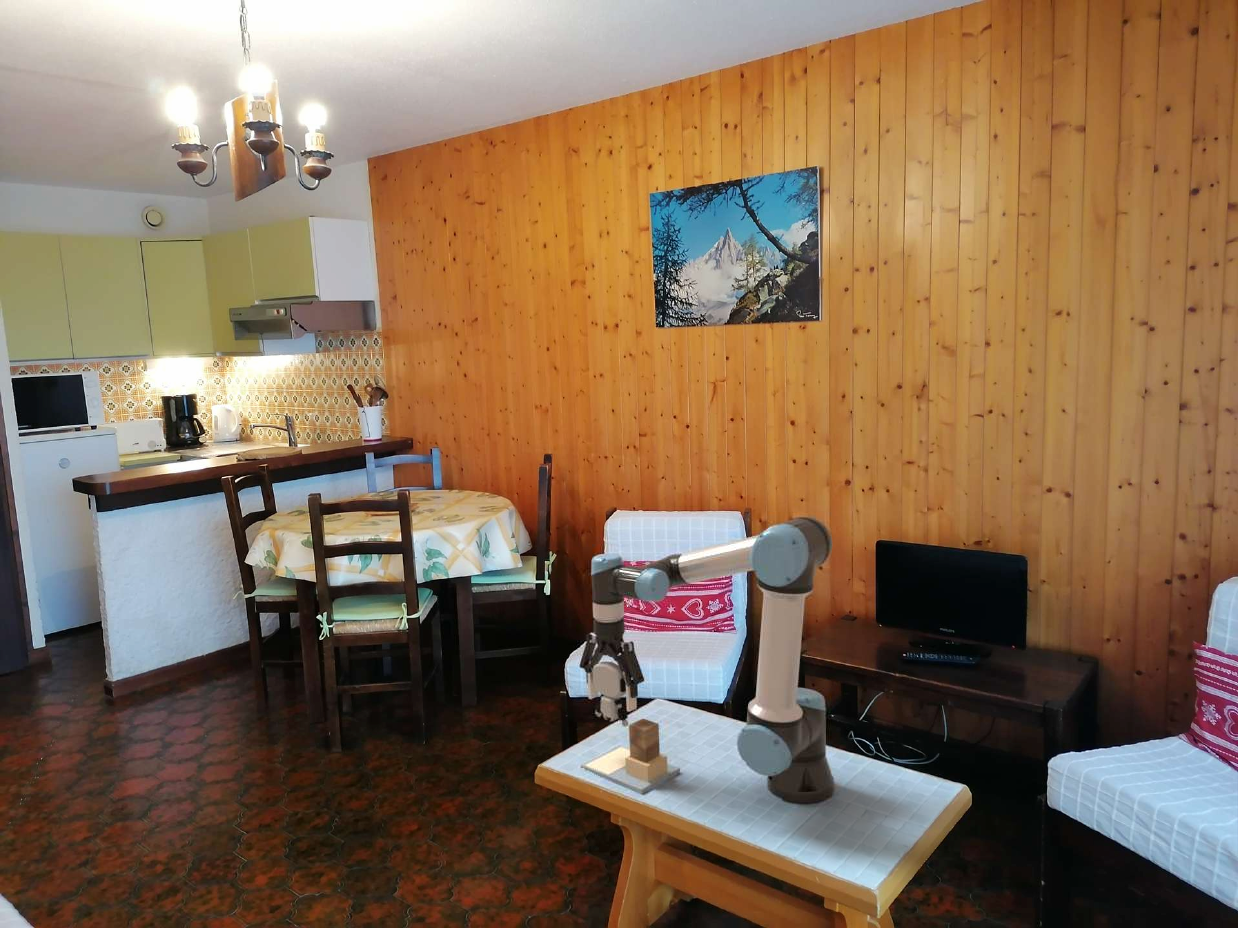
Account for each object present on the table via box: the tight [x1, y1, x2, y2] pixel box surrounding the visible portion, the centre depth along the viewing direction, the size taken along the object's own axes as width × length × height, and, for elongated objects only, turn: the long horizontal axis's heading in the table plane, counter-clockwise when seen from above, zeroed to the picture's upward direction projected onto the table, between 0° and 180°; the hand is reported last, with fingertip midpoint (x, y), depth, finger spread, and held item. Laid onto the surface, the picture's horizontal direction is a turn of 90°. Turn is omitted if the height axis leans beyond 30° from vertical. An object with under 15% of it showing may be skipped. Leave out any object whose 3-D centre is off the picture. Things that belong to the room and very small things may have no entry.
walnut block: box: [628, 718, 661, 763], centre depth 209 cm, size 5×5×8 cm
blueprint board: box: [580, 745, 681, 795], centre depth 213 cm, size 20×14×5 cm
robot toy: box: [589, 661, 629, 727], centre depth 215 cm, size 12×4×15 cm, turn 44°
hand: (612, 703), depth 215 cm, fingers closed on robot toy, 12 cm apart
